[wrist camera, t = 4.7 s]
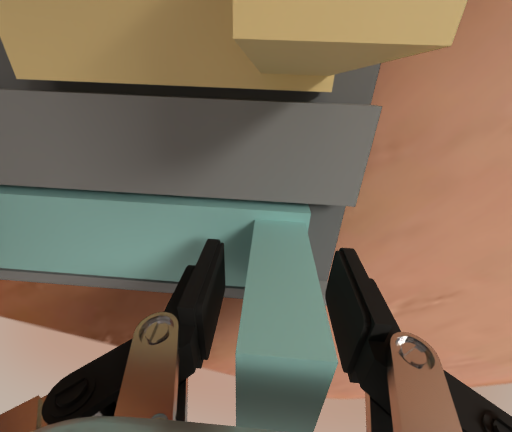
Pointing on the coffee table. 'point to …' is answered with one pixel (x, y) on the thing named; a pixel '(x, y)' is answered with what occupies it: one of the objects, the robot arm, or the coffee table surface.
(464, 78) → the coffee table surface
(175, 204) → the teal strip
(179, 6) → the ochre strip stub
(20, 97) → the lane mat
